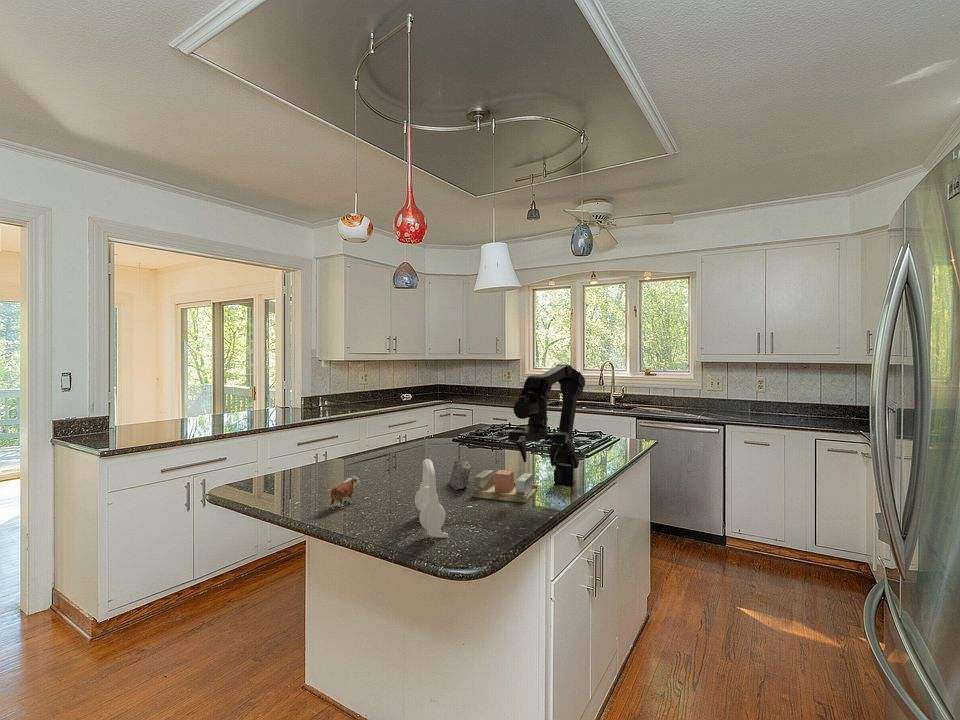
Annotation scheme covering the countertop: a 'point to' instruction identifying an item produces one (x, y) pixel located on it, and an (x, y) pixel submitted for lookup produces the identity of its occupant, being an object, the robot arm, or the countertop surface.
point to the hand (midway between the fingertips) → (538, 463)
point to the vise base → (487, 489)
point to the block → (504, 481)
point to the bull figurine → (344, 490)
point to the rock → (460, 474)
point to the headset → (430, 502)
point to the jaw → (524, 484)
